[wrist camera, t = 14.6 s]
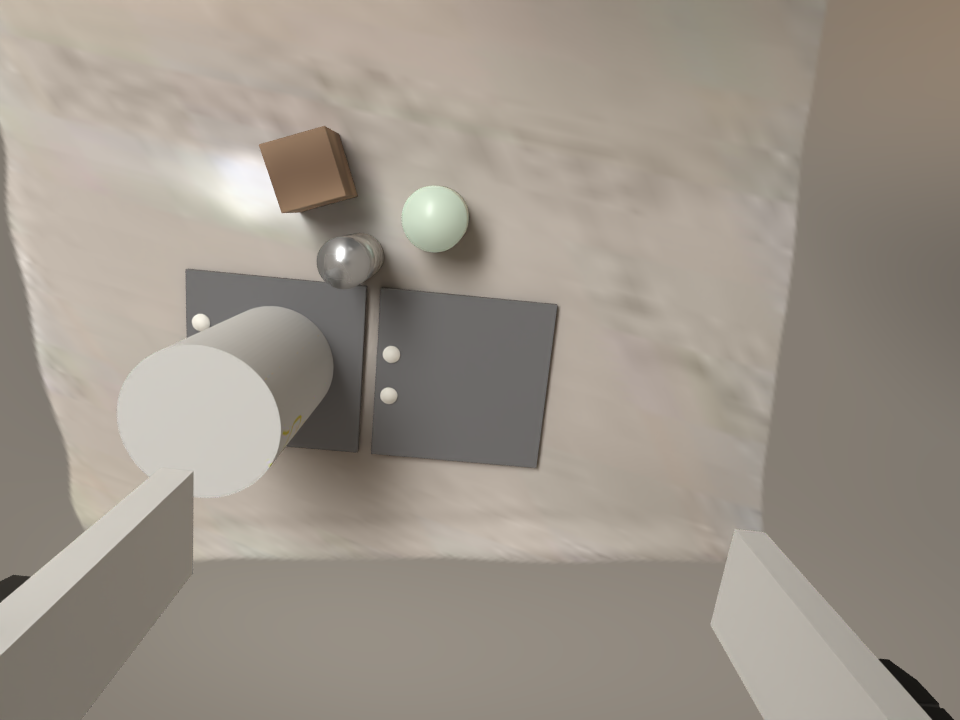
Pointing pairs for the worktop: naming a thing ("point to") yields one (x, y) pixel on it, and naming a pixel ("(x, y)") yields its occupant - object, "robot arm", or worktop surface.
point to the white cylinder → (225, 398)
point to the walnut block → (308, 170)
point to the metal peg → (349, 260)
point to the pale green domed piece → (435, 218)
